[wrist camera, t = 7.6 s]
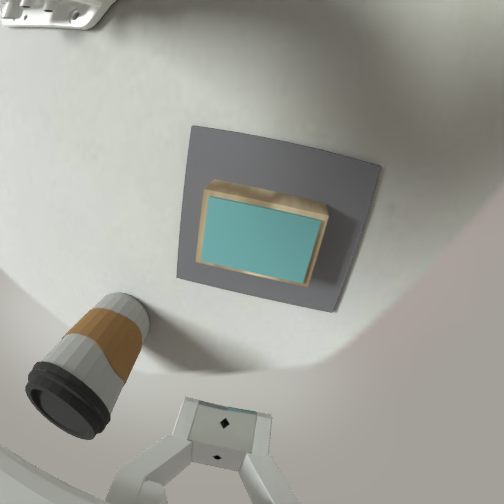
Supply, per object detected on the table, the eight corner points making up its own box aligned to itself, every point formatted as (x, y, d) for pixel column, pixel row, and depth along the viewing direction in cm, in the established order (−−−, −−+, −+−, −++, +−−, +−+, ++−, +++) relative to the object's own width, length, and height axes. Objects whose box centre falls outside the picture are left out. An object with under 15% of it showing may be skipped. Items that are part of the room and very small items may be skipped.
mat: (178, 275, 30) (176, 277, 30) (193, 125, 24) (191, 126, 23) (331, 309, 29) (332, 312, 29) (379, 165, 23) (381, 167, 22)
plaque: (307, 268, 27) (205, 245, 28) (325, 203, 24) (214, 179, 25) (307, 289, 24) (194, 263, 25) (329, 217, 22) (202, 190, 22)
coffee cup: (84, 288, 33) (6, 375, 20) (139, 276, 31) (57, 382, 18) (117, 344, 36) (60, 435, 23) (172, 339, 34) (118, 449, 21)
